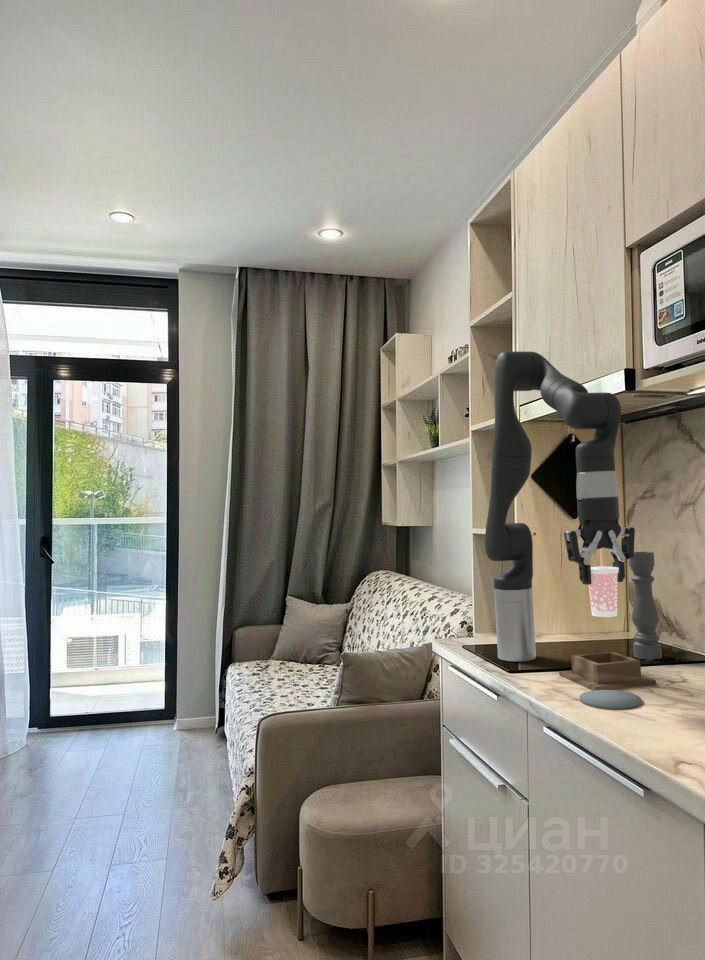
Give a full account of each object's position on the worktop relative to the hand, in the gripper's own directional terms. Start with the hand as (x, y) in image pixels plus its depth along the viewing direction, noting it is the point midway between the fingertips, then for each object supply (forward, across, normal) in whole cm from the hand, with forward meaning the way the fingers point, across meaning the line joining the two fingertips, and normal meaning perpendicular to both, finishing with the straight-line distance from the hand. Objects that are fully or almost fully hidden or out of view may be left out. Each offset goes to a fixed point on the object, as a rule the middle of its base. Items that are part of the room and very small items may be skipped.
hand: (602, 582), depth 131 cm
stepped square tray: (+22, -8, -14) cm, 28 cm away
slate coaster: (+22, 0, 0) cm, 22 cm away
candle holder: (+23, -28, -28) cm, 45 cm away
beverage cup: (+6, 0, 0) cm, 6 cm away
